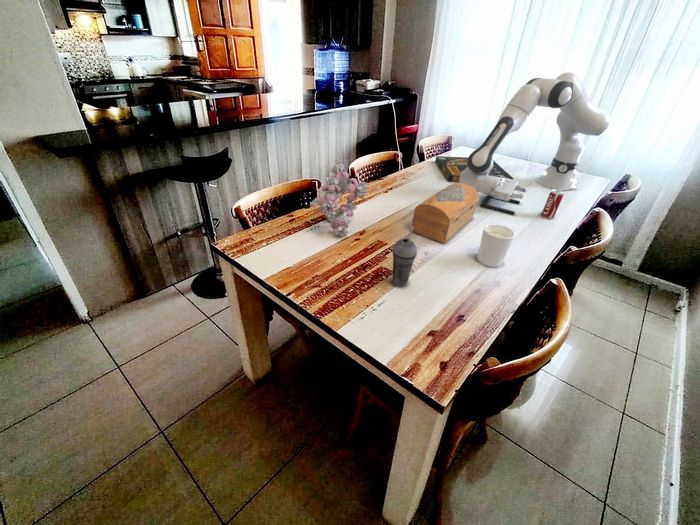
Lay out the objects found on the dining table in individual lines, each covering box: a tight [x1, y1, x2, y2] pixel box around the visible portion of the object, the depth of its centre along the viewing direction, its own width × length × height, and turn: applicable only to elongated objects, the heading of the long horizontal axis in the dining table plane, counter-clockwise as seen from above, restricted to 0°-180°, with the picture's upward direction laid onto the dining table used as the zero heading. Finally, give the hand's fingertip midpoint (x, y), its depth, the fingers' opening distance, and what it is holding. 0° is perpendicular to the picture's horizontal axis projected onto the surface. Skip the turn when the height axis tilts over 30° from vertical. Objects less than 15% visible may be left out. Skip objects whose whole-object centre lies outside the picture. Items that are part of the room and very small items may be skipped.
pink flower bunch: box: [309, 162, 372, 239], centre depth 126 cm, size 20×22×25 cm
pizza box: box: [434, 155, 514, 183], centre depth 193 cm, size 35×35×4 cm
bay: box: [479, 195, 521, 216], centre depth 155 cm, size 16×15×1 cm
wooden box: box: [411, 182, 481, 244], centre depth 133 cm, size 30×16×14 cm, turn 141°
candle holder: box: [476, 223, 516, 268], centre depth 112 cm, size 10×10×12 cm
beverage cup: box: [392, 225, 418, 288], centre depth 97 cm, size 7×7×20 cm
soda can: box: [540, 189, 564, 220], centre depth 144 cm, size 5×5×12 cm
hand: (524, 193), depth 148 cm, fingers open, 8 cm apart
